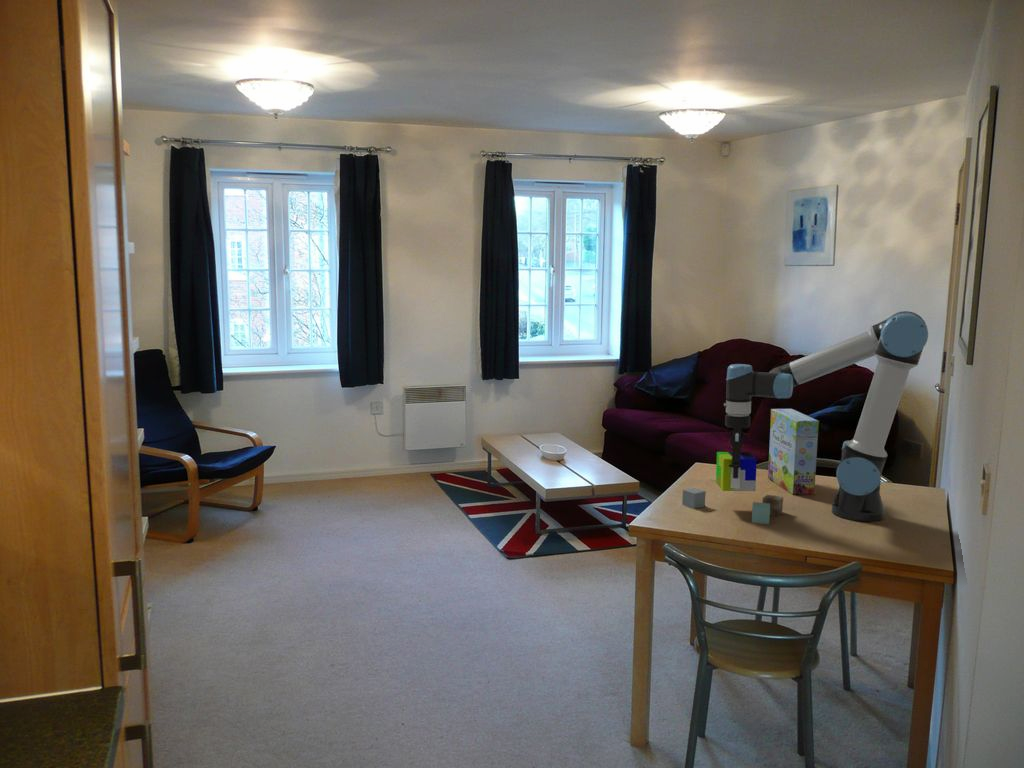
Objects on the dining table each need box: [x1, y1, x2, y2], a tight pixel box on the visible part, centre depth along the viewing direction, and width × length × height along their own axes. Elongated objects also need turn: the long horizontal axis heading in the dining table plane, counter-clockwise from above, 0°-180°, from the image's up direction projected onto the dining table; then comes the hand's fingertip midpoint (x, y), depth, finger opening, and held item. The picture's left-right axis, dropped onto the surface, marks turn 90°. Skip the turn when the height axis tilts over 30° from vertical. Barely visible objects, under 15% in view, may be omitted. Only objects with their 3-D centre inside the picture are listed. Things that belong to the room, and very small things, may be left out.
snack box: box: [767, 408, 820, 496], centre depth 294 cm, size 22×9×26 cm, turn 6°
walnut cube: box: [762, 494, 784, 517], centre depth 264 cm, size 5×5×5 cm
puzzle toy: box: [715, 451, 758, 492], centre depth 266 cm, size 10×10×10 cm
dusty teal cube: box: [751, 501, 771, 525], centre depth 256 cm, size 5×5×5 cm
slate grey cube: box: [681, 487, 707, 510], centre depth 271 cm, size 5×5×5 cm
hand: (735, 483), depth 266 cm, fingers closed on puzzle toy, 11 cm apart
